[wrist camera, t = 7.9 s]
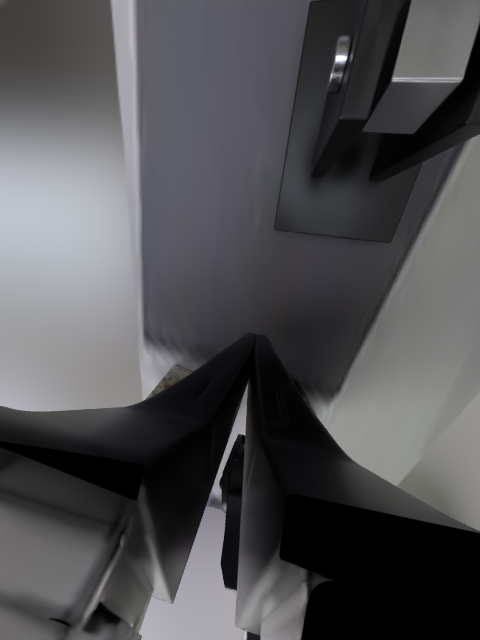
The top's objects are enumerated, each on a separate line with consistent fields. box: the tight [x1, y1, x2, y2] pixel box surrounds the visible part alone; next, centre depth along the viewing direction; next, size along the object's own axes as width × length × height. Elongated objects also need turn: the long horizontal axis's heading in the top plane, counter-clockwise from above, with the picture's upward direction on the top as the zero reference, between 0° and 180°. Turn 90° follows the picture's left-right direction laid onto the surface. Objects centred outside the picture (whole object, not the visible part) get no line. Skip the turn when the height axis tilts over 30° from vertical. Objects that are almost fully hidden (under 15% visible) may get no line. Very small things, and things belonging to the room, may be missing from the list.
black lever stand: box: [274, 0, 480, 243], centre depth 10 cm, size 12×9×10 cm
